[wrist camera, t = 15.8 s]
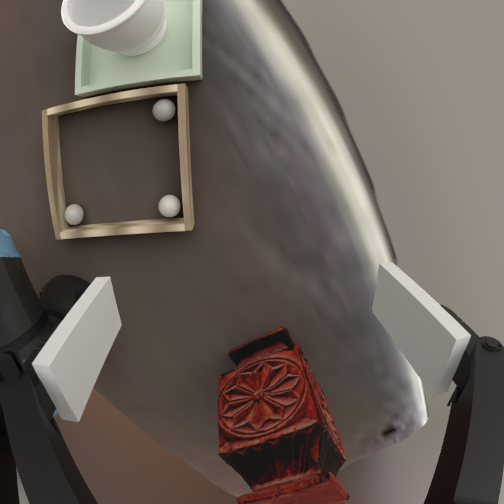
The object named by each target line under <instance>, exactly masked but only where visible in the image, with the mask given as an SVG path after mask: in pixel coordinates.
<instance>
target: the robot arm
mask: <svg viewBox="0 0 504 504" xmlns="http://www.w3.org/2000/svg"><path fill="white" fill-rule="evenodd" d="M372 312H373V313H374V315H375V316H376V317H377V319H378V320H379V321H380V323H381V324H382V325H383V327H384V328H385V329H386V331H387V332H388V334H389V335H390V336H391V338H392V339H393V340H394V342H395V343H396V345H397V346H398V347H399V349H400V350H401V352H402V353H403V354H404V356H405V357H406V359H407V360H408V361H409V363H410V364H411V366H412V367H413V368H414V370H415V371H416V373H417V374H418V376H419V377H420V379H421V380H422V381H423V383H424V384H425V386H426V387H427V389H428V390H429V392H430V393H431V395H432V396H434V395H438V394H441V393H444V392H446V391H447V390H448V388H449V386H450V384H451V382H452V380H453V381H454V382H455V384H456V385H457V386H456V389H455V391H454V393H453V395H452V396H451V398H450V400H449V402H448V404H447V406H450V403H451V402H452V405H451V410H450V415H449V420H448V424H447V429H446V433H445V437H444V441H443V445H442V449H441V453H440V456H439V460H438V463H437V466H436V470H435V473H434V476H433V479H432V482H431V485H430V488H429V491H428V494H427V497H426V499H425V502H424V504H498V499H499V494H500V488H501V482H502V475H503V466H504V347H503V345H502V344H501V343H500V342H499V341H498V340H496V339H494V338H491V337H486V336H484V337H479V336H478V335H477V334H475V332H474V331H473V330H472V329H471V328H470V327H468V325H466V324H465V323H464V322H462V320H461V319H460V318H459V317H457V315H456V314H455V313H454V312H453V311H452V310H451V309H448V308H447V307H445V306H443V305H439V304H438V303H437V302H436V301H435V300H434V299H433V298H432V297H431V296H429V295H428V294H427V293H426V292H425V291H424V290H423V289H422V288H421V287H420V286H418V285H417V284H416V283H415V282H414V281H413V280H412V279H411V278H409V277H408V276H407V275H406V274H405V273H404V272H403V271H401V270H400V269H399V268H398V267H397V266H396V265H395V264H393V263H379V270H378V277H377V283H376V290H375V296H374V301H373V307H372ZM121 326H122V324H121V320H120V316H119V313H118V309H117V304H116V300H115V296H114V292H113V287H112V283H111V278H110V277H96V278H95V280H94V281H93V282H92V283H91V284H90V283H88V282H86V281H85V280H83V279H81V278H78V277H75V276H70V275H61V276H57V277H55V278H53V279H52V280H50V281H49V282H48V283H47V284H46V285H45V286H44V287H43V289H42V290H41V292H40V294H39V297H37V295H36V293H35V291H34V288H33V286H32V284H31V282H30V280H29V277H28V275H27V273H26V270H25V268H24V265H23V263H22V261H21V255H20V254H18V252H17V250H16V247H15V245H14V243H13V240H12V238H11V236H10V234H9V233H8V232H7V231H5V230H2V229H0V504H20V503H19V495H18V485H17V474H16V473H17V472H16V466H17V469H18V472H19V476H20V479H21V481H22V484H23V487H24V490H25V493H26V495H27V498H28V501H29V503H30V504H98V503H97V501H96V500H95V498H94V497H93V495H92V493H91V491H90V490H89V488H88V486H87V484H86V483H85V481H84V479H83V477H82V475H81V474H80V472H79V470H78V468H77V466H76V464H75V462H74V460H73V458H72V456H71V454H70V452H69V450H68V448H67V445H66V443H65V441H64V439H63V437H62V434H61V432H60V430H59V428H58V425H57V423H56V421H55V419H54V418H53V417H54V416H55V415H57V414H58V413H59V415H60V416H61V418H62V419H64V420H69V421H75V422H79V421H80V418H81V416H82V413H83V411H84V408H85V406H86V403H87V401H88V399H89V396H90V394H91V391H92V389H93V387H94V384H95V382H96V380H97V378H98V375H99V373H100V371H101V368H102V366H103V364H104V362H105V360H106V357H107V355H108V353H109V351H110V349H111V347H112V344H113V342H114V340H115V338H116V336H117V334H118V332H119V330H120V328H121Z"/></svg>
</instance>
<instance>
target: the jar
mask: <svg viewBox="0 0 504 504" xmlns="http://www.w3.org/2000/svg"><path fill="white" fill-rule="evenodd" d="M61 15H62V20H63V22H64V24H65V25H66V27H67V28H68V29H69V30H71V31H72V32H74V33H76V34H78V35H81V36H82V37H83V38H84V39H86V40H87V41H88V42H90V43H91V44H93V45H95V46H97V47H99V48H102V49H106V50H111V51H114V52H119V53H121V54H123V55H127V56H137V55H141V54H144V53H146V52H148V51H150V50H152V49H153V48H154V47H156V46H157V45H158V44H159V43H160V41H161V40H162V39H163V37H164V35H165V32H166V28H167V22H166V18H165V10H164V0H63V3H62V8H61Z"/></svg>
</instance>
